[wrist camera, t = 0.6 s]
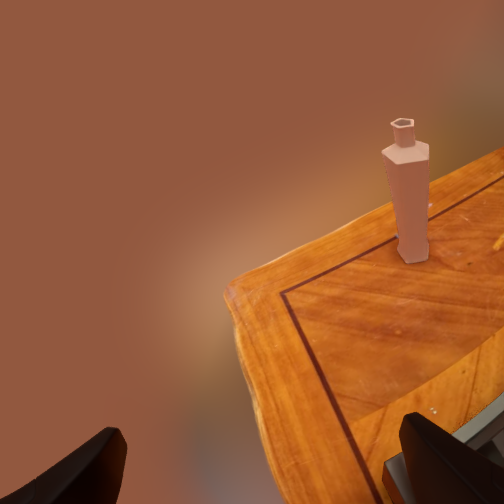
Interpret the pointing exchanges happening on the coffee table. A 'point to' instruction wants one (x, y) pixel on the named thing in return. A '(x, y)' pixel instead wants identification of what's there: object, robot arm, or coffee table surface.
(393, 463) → the window frame
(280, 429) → the coffee table surface
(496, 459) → the pane
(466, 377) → the coffee table surface
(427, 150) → the perfume bottle
